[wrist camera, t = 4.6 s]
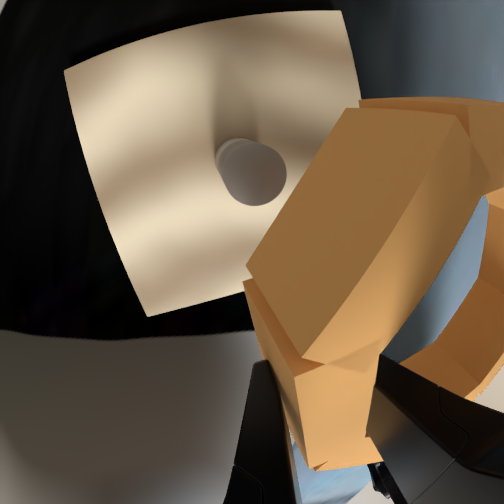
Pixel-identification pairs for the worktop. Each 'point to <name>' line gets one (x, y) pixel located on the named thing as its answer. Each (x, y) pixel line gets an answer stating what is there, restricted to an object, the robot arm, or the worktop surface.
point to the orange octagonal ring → (379, 265)
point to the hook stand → (207, 142)
